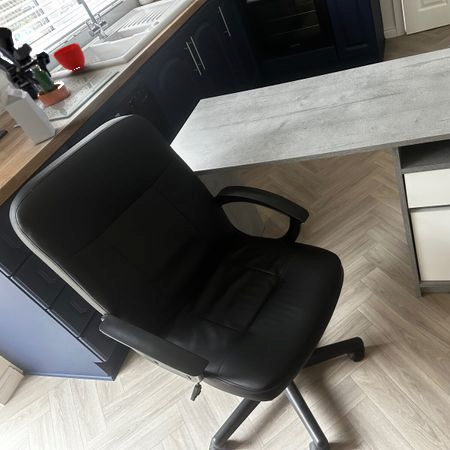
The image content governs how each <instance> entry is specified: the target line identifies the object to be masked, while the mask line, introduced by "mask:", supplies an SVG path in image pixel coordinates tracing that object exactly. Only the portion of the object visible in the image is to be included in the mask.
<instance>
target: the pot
mask: <svg viewBox="0 0 450 450" xmlns="http://www.w3.org/2000/svg"><path fill="white" fill-rule="evenodd" d="M54 83H55V82H54ZM55 84H56V86H57V87H58V88H57V89H56V90H54V91H52V92H50V93H48V94H44V93H43V91H42V90H41V89H40V90H39V91H40V92H39V93H38V94H37V97H38V98H37V99H38V100H39V101H40V102H41V103H42V104H43V106H45V107H49V106H52V105H55V104H57V103H60V102H61V101H63V100H64V99H66V98H67V97H68V96H69V95H70V90H69V89H68V88H67V86H66V85H65V83H64V82H62V81H60V82H59V81H58V82H56V83H55Z"/></svg>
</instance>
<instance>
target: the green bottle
mask: <svg viewBox="0 0 450 450" xmlns="http://www.w3.org/2000/svg"><path fill="white" fill-rule="evenodd" d="M30 70H31V71H32V72H33V77H32V78H33V79H35V80H36V81H37V82H38V83H39V85H37V87H38V88H39V89H40V91H41V90H42V91H43V93H44V94H48V93H50V92H52V91H54V90H56V89H57V88H58V87H57V86H56V84H55V81H54V80H53V78H52V77H50V76H49V75H48V73H47V72H46V71H43V70H40V67H39V66H38V65H34V66H32V67H30Z"/></svg>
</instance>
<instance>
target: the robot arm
mask: <svg viewBox="0 0 450 450" xmlns="http://www.w3.org/2000/svg"><path fill="white" fill-rule="evenodd" d="M14 37H15V36H14V34H13V31H12V30H11V28H9V27H5V26H0V53H1V54H2V56H1V55H0V70H2V71H3V72H4V73H5V75H6V78H7V81H9V82H10V83H11V84H12V86H13V87H14V89H20V90H22V91H25V92H27V93H28V94H29V95H30V97H31V98H32V99H33V101H35V100H36V99H39V98H38V97H37V94H38V93H39V92H40V91H41V90H39V89H40V88H39V87H38V85H39V83H38V82H37V81H36V80H35V79H33V78H32V77H33V73H34V72H33V71H32V70H31V69H30V67H32V66H34V65H37V66H38V68H39V69H40V70H43V71H46V72H47V73H48V75H49V76H50V77H51V78H52V77H53V75H52V74H51V72H50V71H49V69H48V68H47V65H49V64H50V63H51V59H50V53H48V52H47V50H41V51H39V52H37V53H36V54H35V57H36V58H35V59H33V58H32V56H31V55H30V54H31V52H32V51H33V47H31V46H30V45H29V43H27V42H25V43H23V44H22V45H21V46H20V47H17V46H15V45H16V40H15V38H14ZM6 58H7V59H6ZM32 59H33V60H32Z"/></svg>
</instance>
